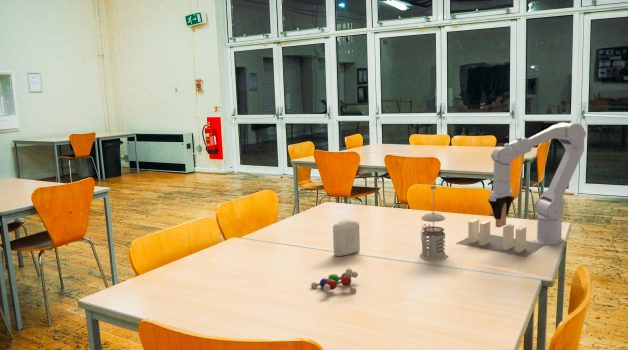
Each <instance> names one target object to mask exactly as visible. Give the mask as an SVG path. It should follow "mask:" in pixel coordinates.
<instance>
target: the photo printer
mask: <svg viewBox="0 0 628 350" xmlns="http://www.w3.org/2000/svg"><path fill="white" fill-rule="evenodd" d="M360 238H361V237H360V223H359V221H358V220H356V219H344V220H340V221H338V222H336V223H335V224H333V226H332V242H333V243H332V245H333V255H334V256H335V257H341V256H347V255H351V254H355V253H359V252H360V248H361V246H360V243H361V242H360Z"/></svg>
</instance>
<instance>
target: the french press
mask: <svg viewBox="0 0 628 350" xmlns="http://www.w3.org/2000/svg"><path fill="white" fill-rule="evenodd" d="M430 190H432V212H429V213H425V214H424V215H422V216H421V220H422V221H424V222H429V223H432V224H433V225H432V226H431V224H428V225H426V223H424V224H423V225H422V227H421V231H420V239H421V253H420V254H419V258H421V259H422V260H425V261H432V262H437V261H438V262H439V261H444V260H447V259H448V258H449V256H448V255H447V253H446V252H445V251H446V248H445V247H446V233H445V232H444V231H445V229H444V227H441V226H435V223H437V222H442V221H444V220H445V219H446V217H445V216H444V215H443V214H441V213H437V212H435V211H434V210H435V209H434V207H435V205H434V203H435V201H434V200H435V199H434V195H435V194H434V191H435V190H437V186H435V185H431V186H430Z"/></svg>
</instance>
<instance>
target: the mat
mask: <svg viewBox="0 0 628 350" xmlns="http://www.w3.org/2000/svg"><path fill="white" fill-rule="evenodd" d="M479 240H480V232H479ZM479 240H478V241H476V242H474V243H468V237H466V238H464V239H462V240H460V241H458V242H456V245H462V246H466V247H472V248H477V249H482V250H487V251H491V252H497V253H502V254H506V255H507V254H508V255H513V256H518V257H523V258H527V257H529V256H531V255H532V254H534V253H535V252H537V251H538V250H540V249H542V248H544V247H545V246H547V245H548V244H546V243H540V242H534V241H529V240H526V249H525V250H523V251H522V252H515V238H514V241H513V247H512V248H510V249H508V250H504V249H503V236H501V235H495V234H490V243H488V244H486V245H484V246H483V245H479Z"/></svg>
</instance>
